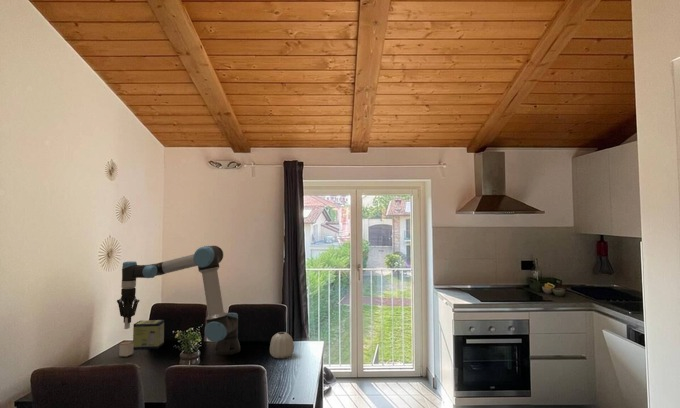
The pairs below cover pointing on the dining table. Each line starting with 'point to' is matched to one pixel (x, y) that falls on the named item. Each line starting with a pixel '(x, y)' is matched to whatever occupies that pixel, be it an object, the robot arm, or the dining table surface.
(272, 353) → the vase
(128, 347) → the beige faceted cup
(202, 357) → the dining table surface
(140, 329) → the protein box
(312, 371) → the dining table surface
